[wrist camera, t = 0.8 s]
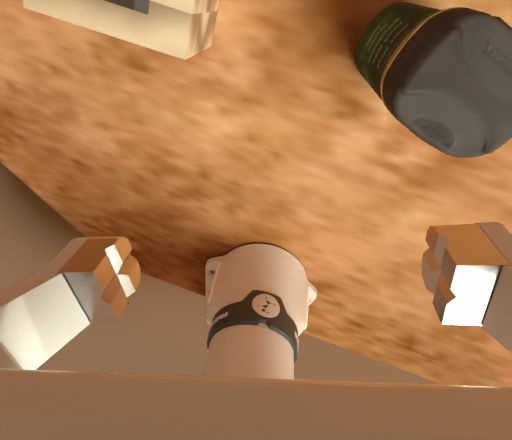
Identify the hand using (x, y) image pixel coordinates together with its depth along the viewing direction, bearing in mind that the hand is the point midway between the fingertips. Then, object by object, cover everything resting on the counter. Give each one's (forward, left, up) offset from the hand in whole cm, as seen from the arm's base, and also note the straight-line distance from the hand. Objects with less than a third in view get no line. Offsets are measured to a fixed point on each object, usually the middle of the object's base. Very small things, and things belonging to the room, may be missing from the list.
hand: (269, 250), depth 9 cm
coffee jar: (+4, -11, -34) cm, 36 cm away
